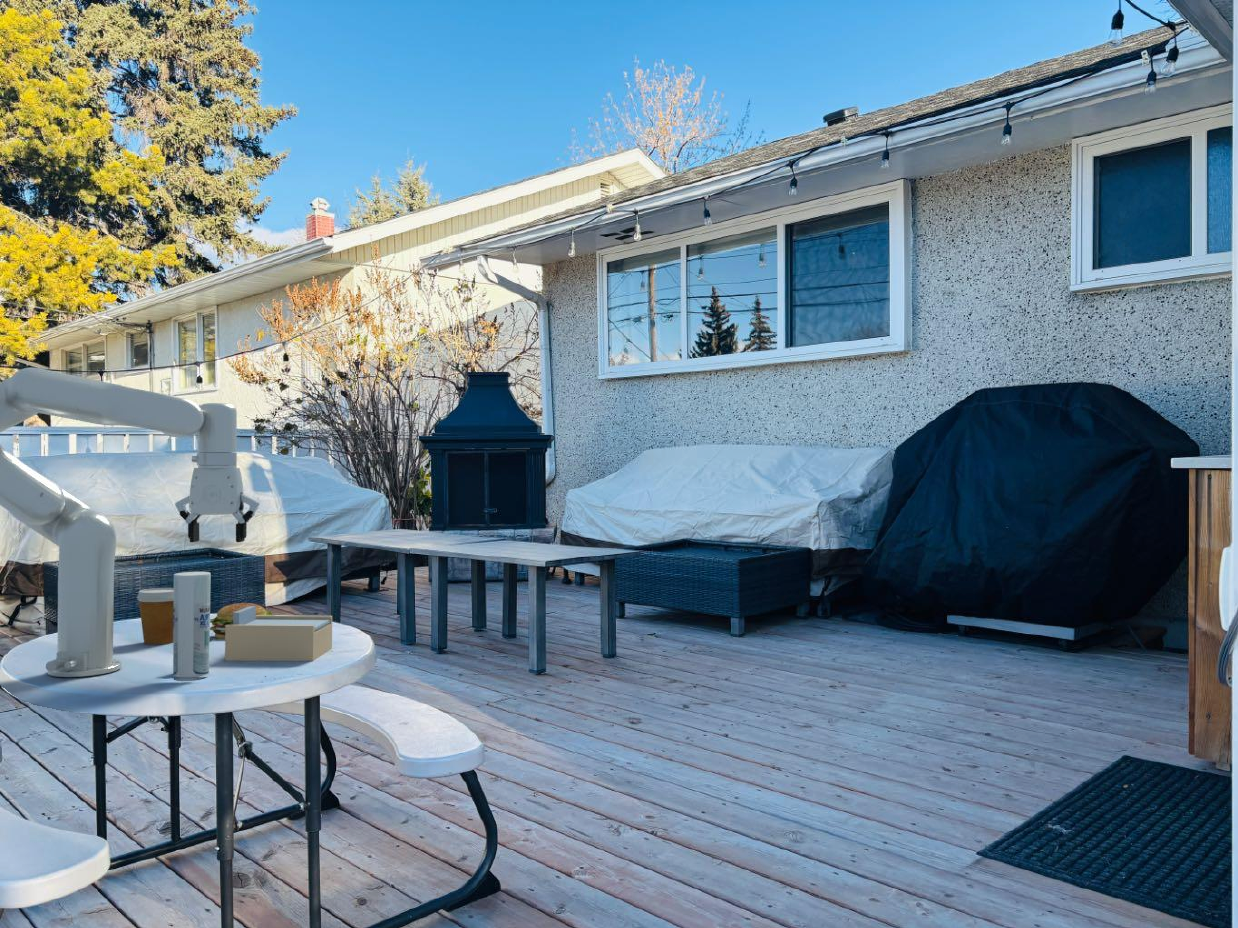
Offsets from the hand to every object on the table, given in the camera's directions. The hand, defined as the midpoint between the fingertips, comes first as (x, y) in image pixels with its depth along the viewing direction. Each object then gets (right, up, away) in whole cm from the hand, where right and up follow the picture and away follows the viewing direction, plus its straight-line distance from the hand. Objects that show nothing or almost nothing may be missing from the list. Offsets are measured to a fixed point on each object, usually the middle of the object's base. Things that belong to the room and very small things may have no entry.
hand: (217, 541), depth 195 cm
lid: (+14, -18, 0) cm, 23 cm away
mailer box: (+14, -25, 0) cm, 28 cm away
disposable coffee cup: (-20, -25, +16) cm, 36 cm away
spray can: (+3, -25, -19) cm, 31 cm away
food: (-4, -25, +24) cm, 35 cm away
